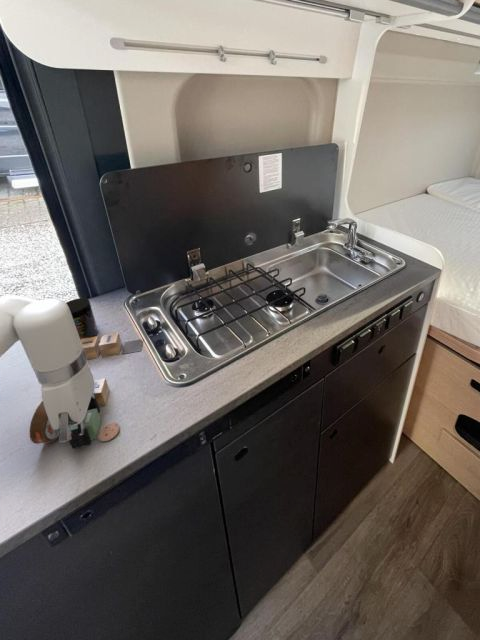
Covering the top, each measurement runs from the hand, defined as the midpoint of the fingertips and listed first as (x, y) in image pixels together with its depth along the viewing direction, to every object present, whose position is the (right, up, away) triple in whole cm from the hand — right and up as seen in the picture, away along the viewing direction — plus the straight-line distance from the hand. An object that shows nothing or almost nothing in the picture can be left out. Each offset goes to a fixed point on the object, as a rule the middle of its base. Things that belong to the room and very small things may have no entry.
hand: (87, 428), depth 66 cm
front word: (-2, +2, +7) cm, 8 cm away
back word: (-7, +9, +21) cm, 24 cm away
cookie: (+4, -1, 0) cm, 4 cm away
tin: (-6, 0, +3) cm, 7 cm away
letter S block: (0, -1, 0) cm, 1 cm away
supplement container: (-18, +11, +26) cm, 34 cm away
